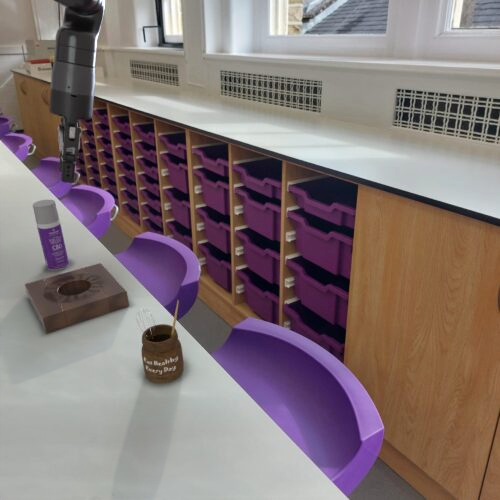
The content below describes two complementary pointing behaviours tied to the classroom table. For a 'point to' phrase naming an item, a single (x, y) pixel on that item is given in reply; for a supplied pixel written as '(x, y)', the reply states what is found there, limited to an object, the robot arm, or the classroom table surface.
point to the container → (50, 234)
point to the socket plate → (76, 297)
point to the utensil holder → (161, 352)
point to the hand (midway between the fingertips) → (66, 176)
